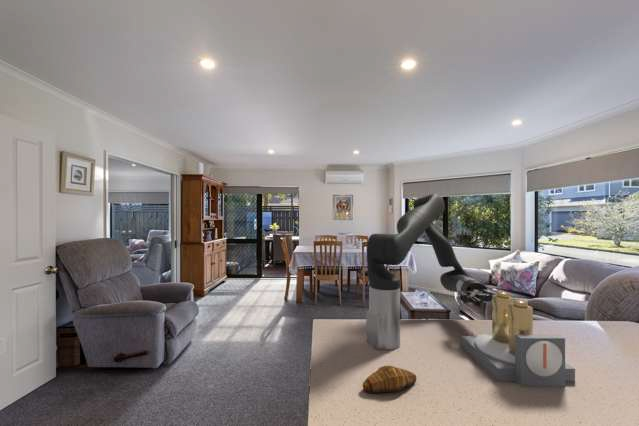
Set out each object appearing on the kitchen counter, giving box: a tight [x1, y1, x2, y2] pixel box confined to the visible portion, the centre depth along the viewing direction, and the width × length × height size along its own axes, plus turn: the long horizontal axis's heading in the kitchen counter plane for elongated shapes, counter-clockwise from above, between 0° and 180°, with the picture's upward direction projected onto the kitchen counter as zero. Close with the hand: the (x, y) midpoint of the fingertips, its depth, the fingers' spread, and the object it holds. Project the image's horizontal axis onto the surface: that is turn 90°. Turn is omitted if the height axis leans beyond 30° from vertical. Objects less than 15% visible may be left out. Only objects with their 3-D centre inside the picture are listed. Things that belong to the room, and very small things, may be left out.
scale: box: [460, 332, 576, 388], centre depth 75 cm, size 18×21×11 cm
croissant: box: [362, 365, 417, 394], centre depth 65 cm, size 14×7×5 cm, turn 108°
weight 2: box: [509, 299, 534, 356], centre depth 73 cm, size 5×5×13 cm
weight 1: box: [491, 290, 514, 344], centre depth 81 cm, size 5×5×13 cm
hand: (494, 304), depth 85 cm, fingers open, 8 cm apart
